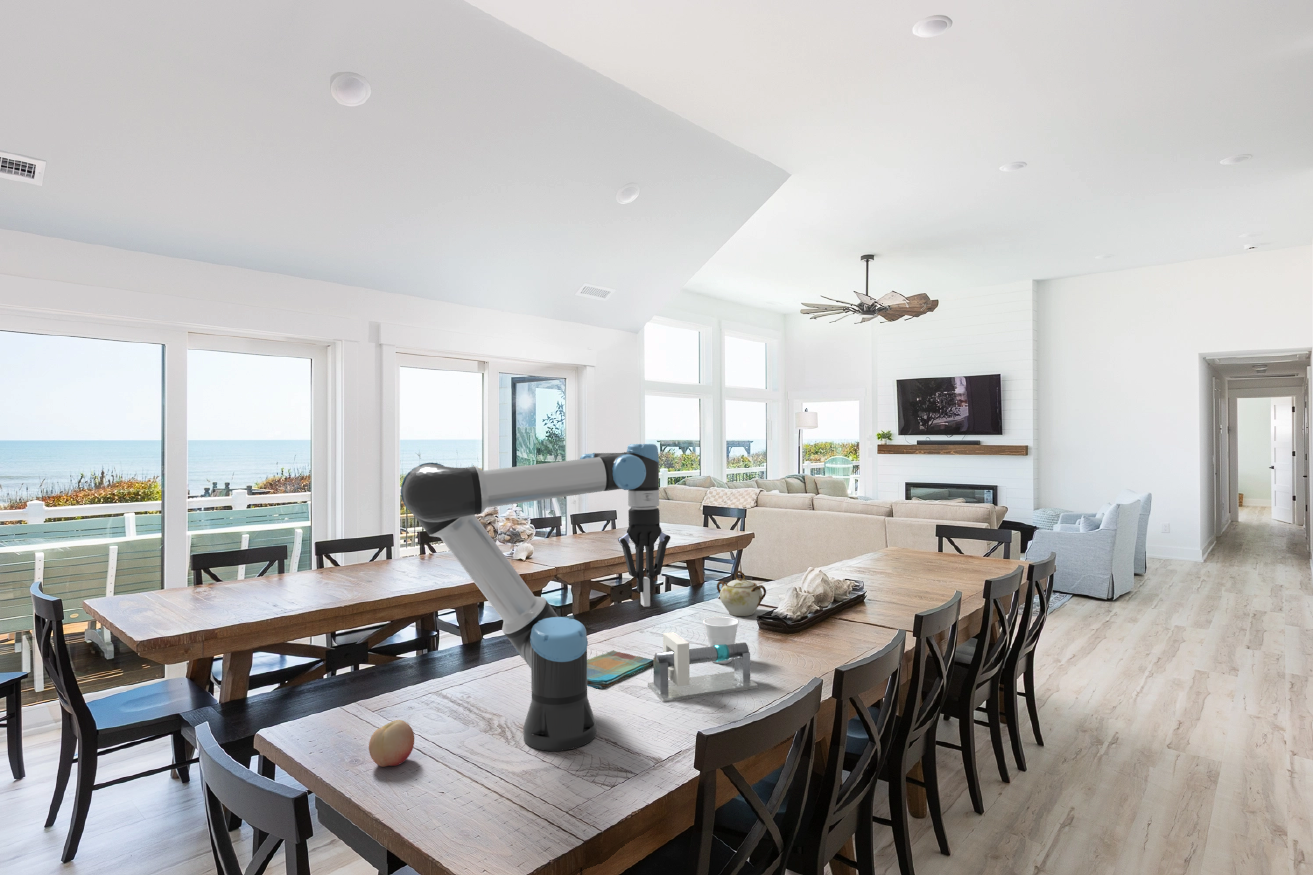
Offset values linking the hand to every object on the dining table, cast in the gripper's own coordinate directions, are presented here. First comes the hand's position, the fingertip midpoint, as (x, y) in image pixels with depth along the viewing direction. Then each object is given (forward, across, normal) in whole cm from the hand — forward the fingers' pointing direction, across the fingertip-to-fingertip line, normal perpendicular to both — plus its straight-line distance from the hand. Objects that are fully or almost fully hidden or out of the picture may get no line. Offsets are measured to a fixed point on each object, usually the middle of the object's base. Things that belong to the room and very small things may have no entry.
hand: (645, 604), depth 169 cm
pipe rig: (+22, +15, 0) cm, 26 cm away
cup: (+22, +28, +17) cm, 39 cm away
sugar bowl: (+22, +56, +61) cm, 86 cm away
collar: (+19, +8, 0) cm, 20 cm away
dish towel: (+23, -4, +21) cm, 31 cm away
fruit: (+22, -57, -16) cm, 63 cm away
